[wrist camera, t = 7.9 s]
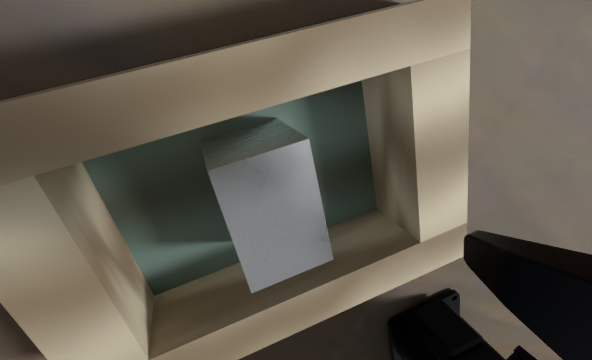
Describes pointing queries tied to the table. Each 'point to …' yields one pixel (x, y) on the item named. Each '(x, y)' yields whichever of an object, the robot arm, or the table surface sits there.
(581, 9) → the table surface
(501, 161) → the table surface
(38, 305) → the well
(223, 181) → the grey rectangular block
